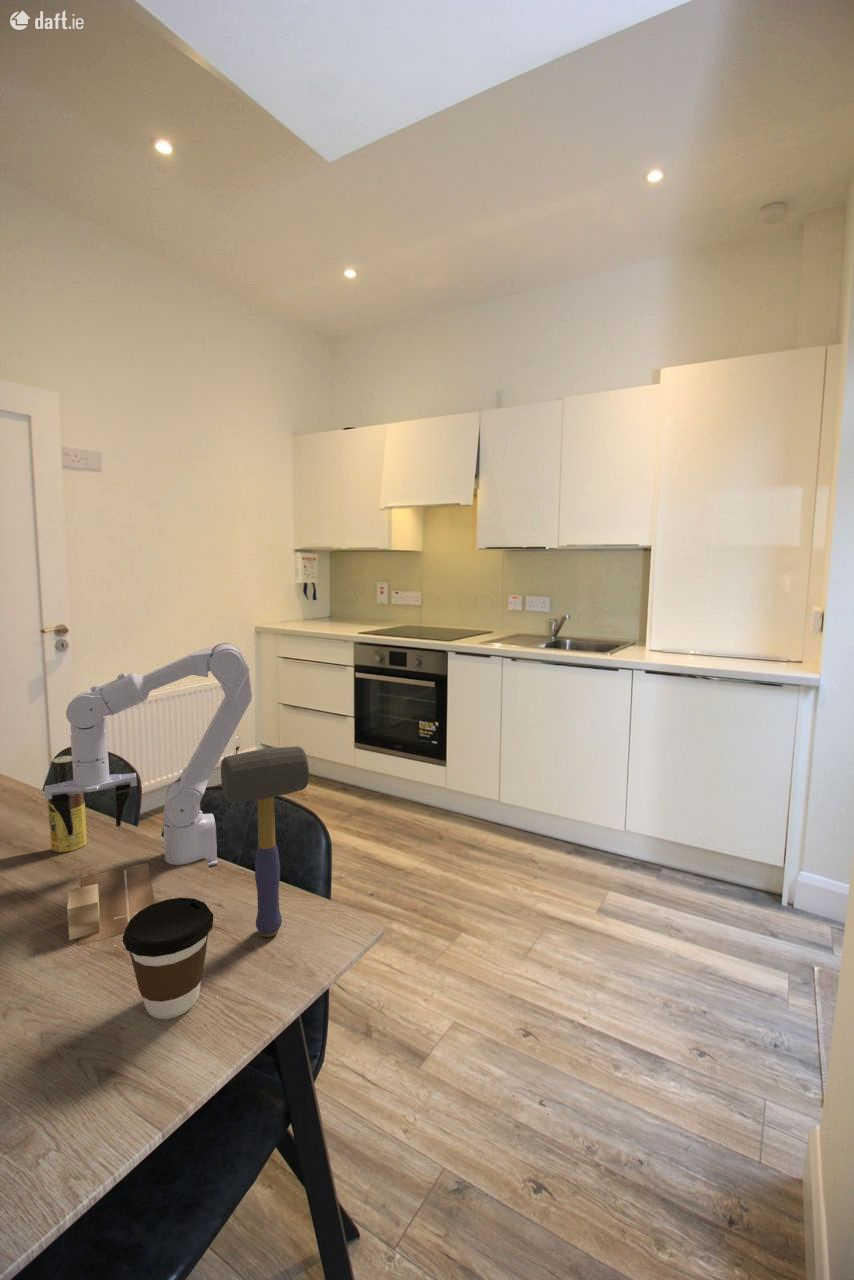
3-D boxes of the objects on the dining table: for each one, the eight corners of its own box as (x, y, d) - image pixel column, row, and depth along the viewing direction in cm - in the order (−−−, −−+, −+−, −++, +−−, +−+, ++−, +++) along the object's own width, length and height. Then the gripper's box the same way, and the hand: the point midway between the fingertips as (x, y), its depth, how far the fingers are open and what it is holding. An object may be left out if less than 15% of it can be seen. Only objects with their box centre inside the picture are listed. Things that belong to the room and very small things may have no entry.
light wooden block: (100, 919, 95) (97, 883, 95) (100, 939, 90) (97, 902, 89) (71, 926, 94) (69, 889, 93) (69, 947, 88) (67, 909, 88)
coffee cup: (190, 963, 85) (187, 886, 84) (232, 998, 79) (229, 915, 77) (112, 1005, 77) (107, 921, 76) (151, 1049, 70) (146, 957, 69)
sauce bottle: (54, 848, 120) (47, 755, 117) (89, 843, 122) (83, 751, 120) (49, 863, 114) (42, 765, 111) (86, 857, 116) (79, 760, 114)
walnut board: (148, 870, 111) (148, 862, 111) (158, 933, 92) (157, 924, 92) (82, 884, 106) (81, 877, 106) (77, 955, 87) (77, 945, 87)
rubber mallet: (233, 958, 87) (226, 763, 83) (224, 930, 93) (217, 749, 90) (314, 933, 93) (311, 751, 89) (300, 909, 99) (297, 738, 95)
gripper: (41, 770, 99) (46, 846, 101) (135, 758, 106) (139, 828, 108) (44, 758, 105) (49, 830, 107) (134, 747, 112) (137, 814, 114)
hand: (94, 828), depth 108 cm, fingers open, 7 cm apart
